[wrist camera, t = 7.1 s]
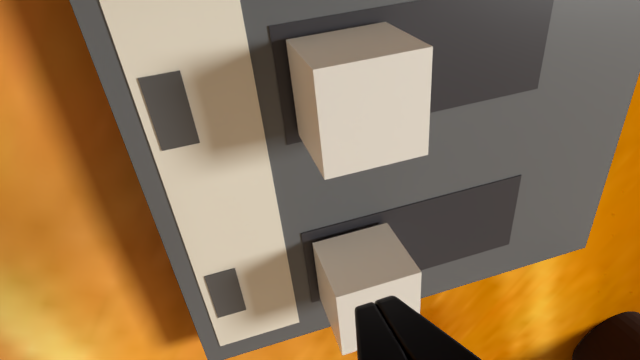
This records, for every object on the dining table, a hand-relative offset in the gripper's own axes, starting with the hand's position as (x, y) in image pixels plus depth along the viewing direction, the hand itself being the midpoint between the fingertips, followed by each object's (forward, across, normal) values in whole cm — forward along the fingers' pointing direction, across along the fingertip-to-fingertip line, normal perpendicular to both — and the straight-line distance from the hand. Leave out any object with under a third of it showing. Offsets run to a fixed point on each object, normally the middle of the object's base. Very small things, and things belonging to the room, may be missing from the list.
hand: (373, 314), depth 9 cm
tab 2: (+8, -2, +6) cm, 10 cm away
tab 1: (+8, -2, -2) cm, 8 cm away
